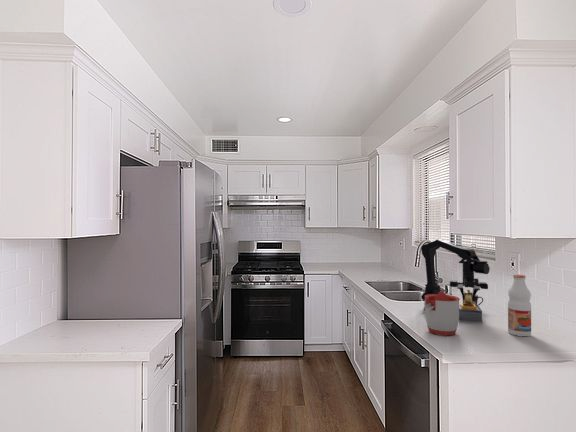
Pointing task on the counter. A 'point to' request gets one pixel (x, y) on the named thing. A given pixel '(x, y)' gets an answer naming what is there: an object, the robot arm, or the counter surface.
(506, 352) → the counter surface
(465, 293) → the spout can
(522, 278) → the fruit juice
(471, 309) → the grey square box
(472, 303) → the coffee mug
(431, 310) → the citrus juicer
